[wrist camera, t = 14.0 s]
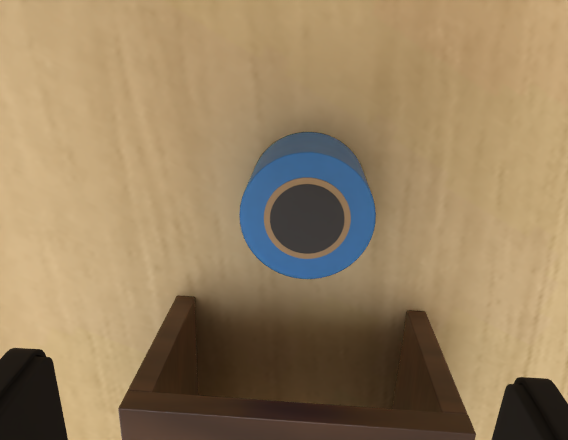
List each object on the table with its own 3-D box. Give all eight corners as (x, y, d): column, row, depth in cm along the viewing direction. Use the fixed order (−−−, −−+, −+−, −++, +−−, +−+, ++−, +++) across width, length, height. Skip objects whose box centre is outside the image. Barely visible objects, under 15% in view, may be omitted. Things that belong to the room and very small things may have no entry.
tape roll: (252, 128, 27) (239, 149, 22) (370, 134, 26) (383, 156, 22) (250, 237, 29) (238, 276, 24) (359, 243, 29) (368, 284, 24)
